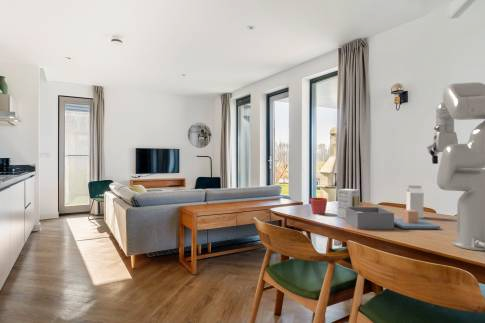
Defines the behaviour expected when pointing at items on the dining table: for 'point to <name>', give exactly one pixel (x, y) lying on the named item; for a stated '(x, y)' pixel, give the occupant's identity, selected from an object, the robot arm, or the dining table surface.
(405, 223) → the lid
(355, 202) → the supplement box
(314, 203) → the flower pot
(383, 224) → the storage box
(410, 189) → the milk carton
